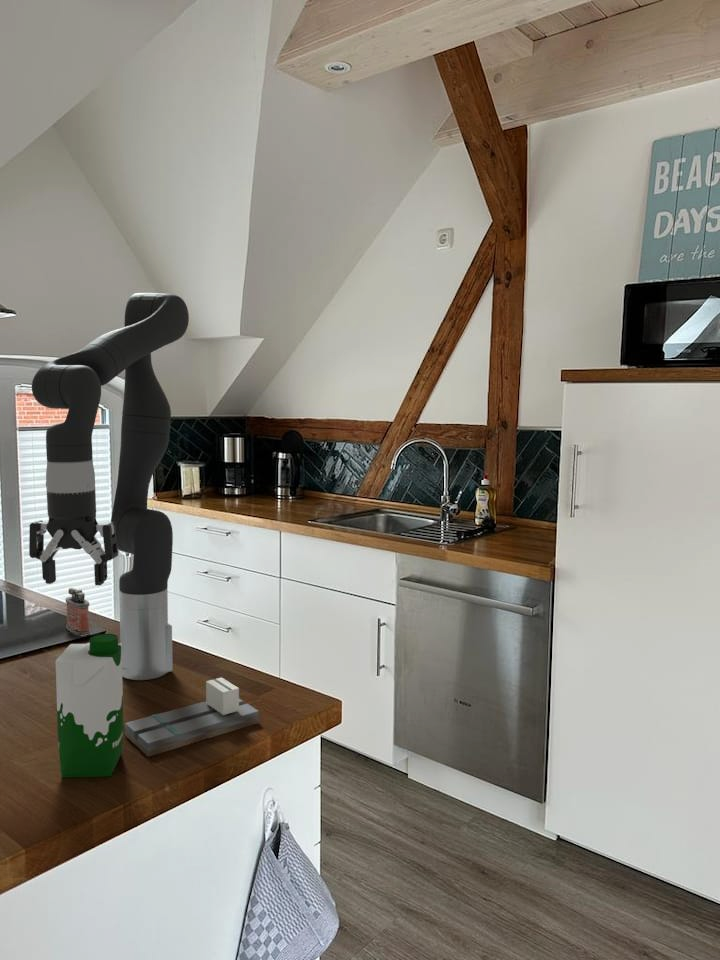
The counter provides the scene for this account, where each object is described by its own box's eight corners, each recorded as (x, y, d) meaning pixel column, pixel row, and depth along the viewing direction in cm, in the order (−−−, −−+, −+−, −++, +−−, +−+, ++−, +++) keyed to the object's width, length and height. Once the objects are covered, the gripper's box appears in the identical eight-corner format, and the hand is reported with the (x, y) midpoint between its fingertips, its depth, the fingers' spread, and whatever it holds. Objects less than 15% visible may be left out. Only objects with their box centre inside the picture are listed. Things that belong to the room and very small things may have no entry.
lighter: (93, 634, 175) (92, 592, 174) (79, 637, 173) (78, 594, 171) (76, 626, 180) (75, 585, 179) (63, 629, 178) (61, 587, 177)
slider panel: (232, 705, 137) (232, 693, 137) (258, 723, 130) (258, 710, 130) (125, 735, 125) (125, 722, 125) (148, 756, 118) (147, 742, 118)
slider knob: (221, 705, 134) (221, 676, 134) (238, 717, 130) (238, 687, 129) (206, 709, 132) (206, 680, 132) (223, 721, 128) (223, 691, 127)
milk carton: (115, 779, 111) (113, 647, 108) (51, 781, 110) (47, 648, 108) (128, 751, 120) (126, 628, 117) (69, 752, 119) (66, 628, 116)
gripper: (122, 485, 128) (125, 579, 130) (41, 483, 129) (45, 576, 131) (103, 492, 120) (106, 591, 123) (17, 490, 122) (22, 588, 124)
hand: (75, 583), depth 127 cm, fingers open, 8 cm apart
